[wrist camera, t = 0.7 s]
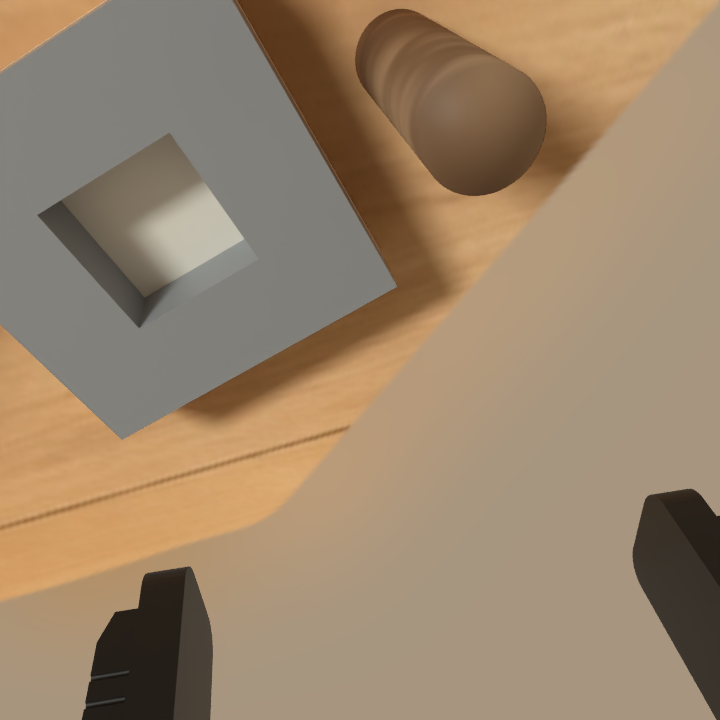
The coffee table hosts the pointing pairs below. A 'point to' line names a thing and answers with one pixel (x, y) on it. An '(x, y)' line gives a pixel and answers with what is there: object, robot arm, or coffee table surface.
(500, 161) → the walnut peg
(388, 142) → the coffee table surface
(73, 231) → the socket block
